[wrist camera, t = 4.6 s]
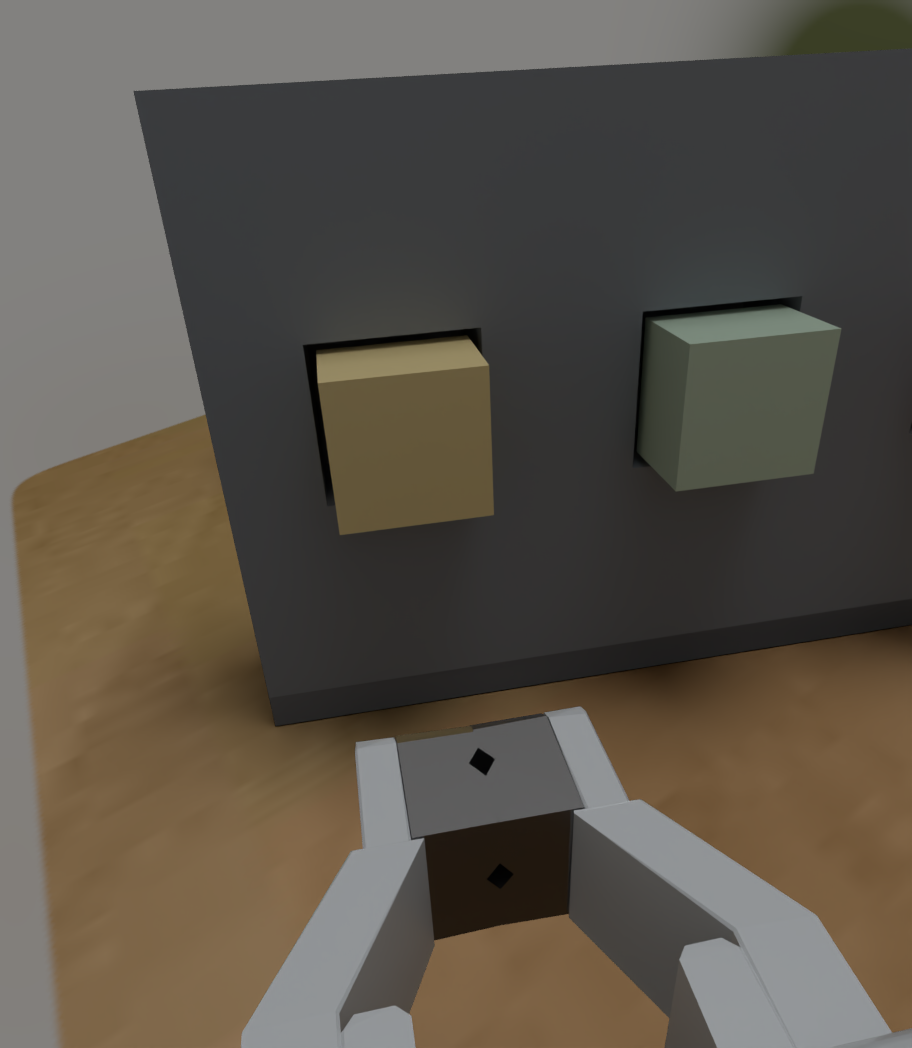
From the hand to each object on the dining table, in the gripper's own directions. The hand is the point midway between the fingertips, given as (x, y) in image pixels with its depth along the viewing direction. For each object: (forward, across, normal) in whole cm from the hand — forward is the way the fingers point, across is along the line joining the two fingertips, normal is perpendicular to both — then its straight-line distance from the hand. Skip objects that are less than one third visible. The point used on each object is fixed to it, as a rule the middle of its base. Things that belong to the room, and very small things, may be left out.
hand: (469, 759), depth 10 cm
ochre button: (+11, +1, -2) cm, 11 cm away
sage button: (+11, +10, -2) cm, 15 cm away
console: (+15, +10, -10) cm, 20 cm away
